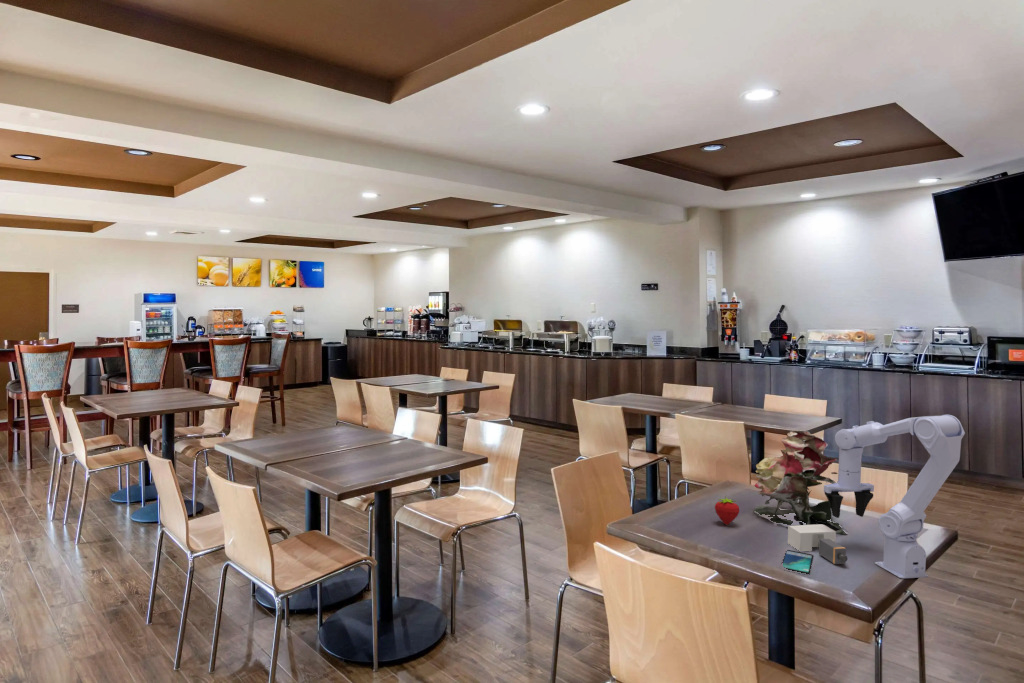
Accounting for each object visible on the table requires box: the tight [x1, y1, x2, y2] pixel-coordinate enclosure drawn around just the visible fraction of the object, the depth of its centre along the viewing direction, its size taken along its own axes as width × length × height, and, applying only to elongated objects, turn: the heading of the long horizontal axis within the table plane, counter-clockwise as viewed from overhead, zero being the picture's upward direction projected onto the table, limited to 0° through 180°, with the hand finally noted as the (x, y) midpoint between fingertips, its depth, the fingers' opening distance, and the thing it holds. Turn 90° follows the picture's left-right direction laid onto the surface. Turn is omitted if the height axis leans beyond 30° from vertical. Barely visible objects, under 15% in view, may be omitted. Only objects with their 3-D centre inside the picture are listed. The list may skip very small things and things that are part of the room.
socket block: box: [787, 523, 837, 552], centre depth 177 cm, size 6×11×6 cm, turn 97°
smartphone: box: [781, 549, 814, 575], centre depth 167 cm, size 7×1×15 cm
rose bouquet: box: [753, 429, 848, 536], centre depth 200 cm, size 26×29×30 cm
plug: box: [818, 539, 848, 565], centre depth 167 cm, size 9×3×4 cm, turn 7°
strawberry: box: [714, 496, 740, 526], centre depth 195 cm, size 6×8×10 cm
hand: (847, 516), depth 176 cm, fingers open, 7 cm apart
